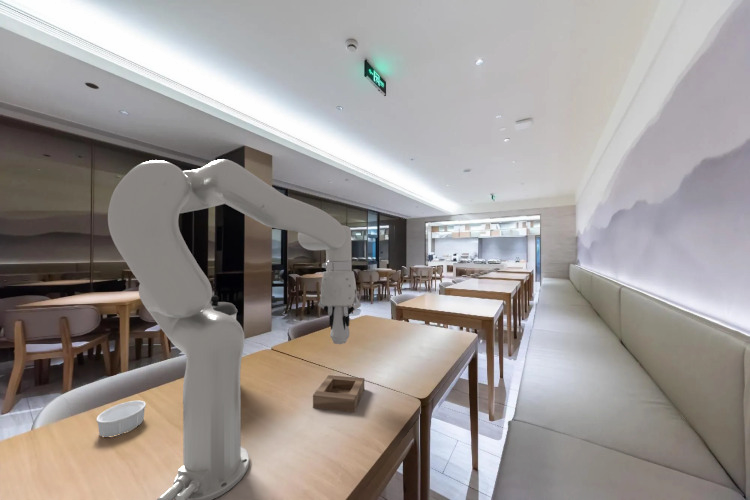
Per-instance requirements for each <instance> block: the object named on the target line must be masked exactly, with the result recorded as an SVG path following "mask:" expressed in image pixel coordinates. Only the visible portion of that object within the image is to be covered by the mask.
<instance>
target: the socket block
mask: <svg viewBox="0 0 750 500" xmlns="http://www.w3.org/2000/svg"><path fill="white" fill-rule="evenodd" d="M364 391H365V378H364V377H356V376H355V377H354V376H343V375H331V374H329V375H327V377H326V378H324V380H323V382H321V384H320V386H318V388H317V389H316V390H315V392H314V393H313V394H312V408H313V409H320V410H331V411H339V412H348V413H355V412H356V410H357V407H358V405H359V403H360V400H361V398H362V396H363V394H364Z"/></svg>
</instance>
